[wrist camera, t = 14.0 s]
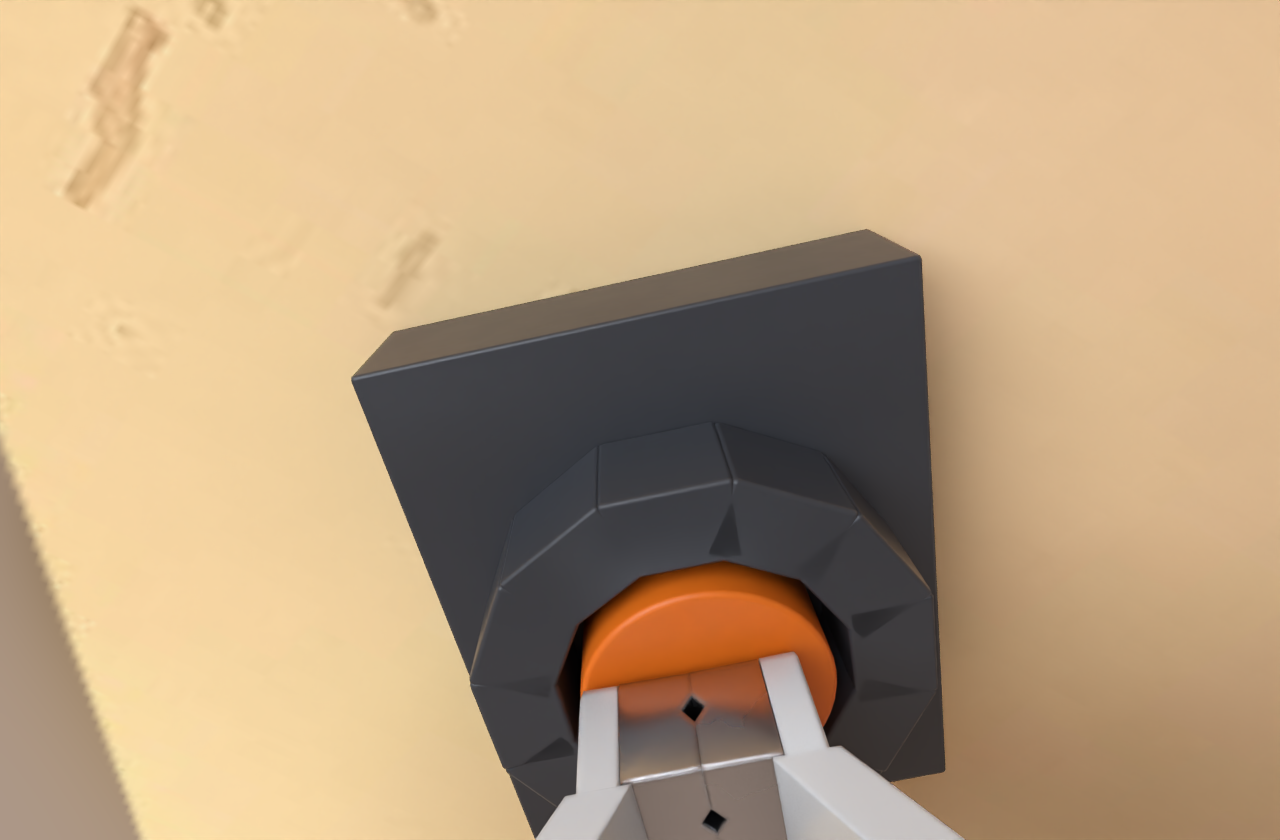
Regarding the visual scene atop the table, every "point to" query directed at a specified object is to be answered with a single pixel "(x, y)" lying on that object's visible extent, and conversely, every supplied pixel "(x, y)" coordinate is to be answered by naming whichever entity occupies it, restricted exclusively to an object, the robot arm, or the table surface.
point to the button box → (677, 480)
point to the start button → (706, 628)
